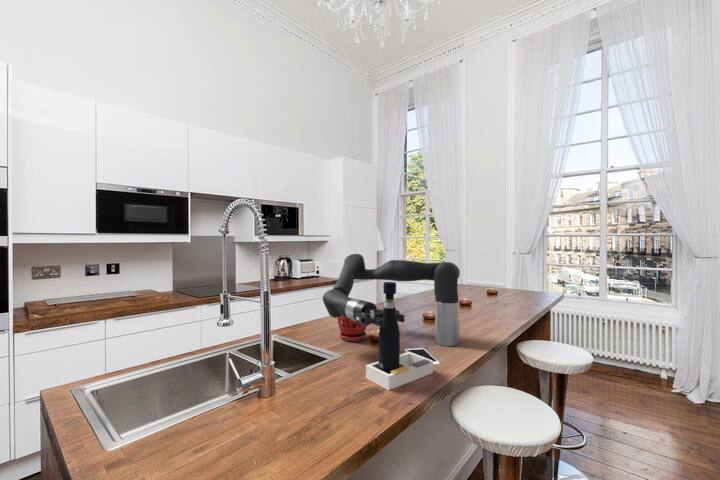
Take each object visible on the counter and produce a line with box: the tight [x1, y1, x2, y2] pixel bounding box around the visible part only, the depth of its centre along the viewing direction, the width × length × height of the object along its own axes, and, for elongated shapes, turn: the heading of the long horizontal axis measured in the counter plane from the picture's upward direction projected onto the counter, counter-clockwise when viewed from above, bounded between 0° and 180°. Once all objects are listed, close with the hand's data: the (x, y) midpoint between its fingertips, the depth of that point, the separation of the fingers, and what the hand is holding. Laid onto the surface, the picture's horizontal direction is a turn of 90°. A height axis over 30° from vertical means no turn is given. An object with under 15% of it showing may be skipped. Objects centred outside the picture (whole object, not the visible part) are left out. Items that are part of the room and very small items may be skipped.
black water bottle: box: [378, 281, 401, 374], centre depth 103 cm, size 6×6×30 cm
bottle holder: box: [365, 352, 434, 391], centre depth 106 cm, size 20×11×5 cm, turn 128°
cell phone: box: [404, 347, 441, 366], centre depth 123 cm, size 8×16×1 cm, turn 11°
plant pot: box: [337, 316, 368, 342], centre depth 144 cm, size 13×13×12 cm
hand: (393, 321), depth 101 cm, fingers open, 8 cm apart
